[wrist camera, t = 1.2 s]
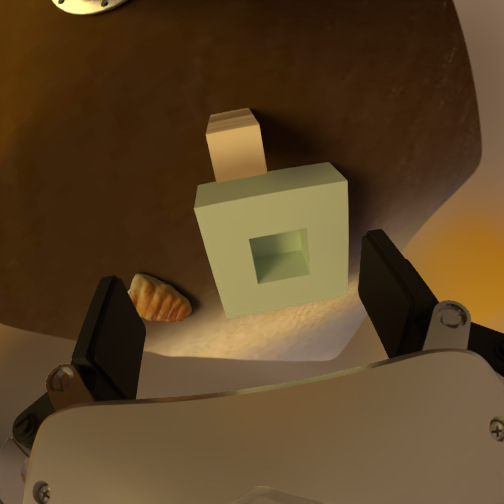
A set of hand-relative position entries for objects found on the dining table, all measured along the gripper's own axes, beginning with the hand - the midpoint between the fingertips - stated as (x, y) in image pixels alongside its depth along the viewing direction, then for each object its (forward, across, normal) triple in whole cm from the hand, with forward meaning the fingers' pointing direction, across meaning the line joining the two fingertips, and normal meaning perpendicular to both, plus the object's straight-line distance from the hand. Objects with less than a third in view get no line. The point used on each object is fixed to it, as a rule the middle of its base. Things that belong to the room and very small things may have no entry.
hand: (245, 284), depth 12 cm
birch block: (+24, -1, 0) cm, 24 cm away
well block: (+24, -3, +12) cm, 27 cm away
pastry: (+24, +14, +20) cm, 34 cm away
